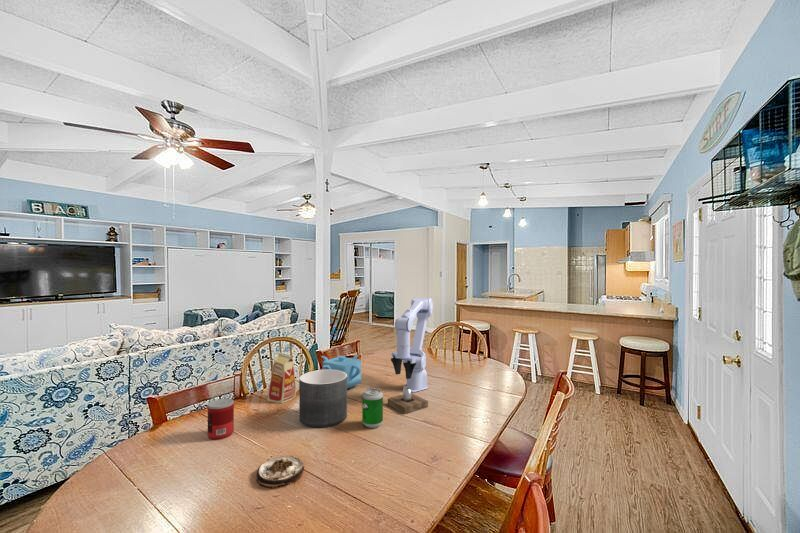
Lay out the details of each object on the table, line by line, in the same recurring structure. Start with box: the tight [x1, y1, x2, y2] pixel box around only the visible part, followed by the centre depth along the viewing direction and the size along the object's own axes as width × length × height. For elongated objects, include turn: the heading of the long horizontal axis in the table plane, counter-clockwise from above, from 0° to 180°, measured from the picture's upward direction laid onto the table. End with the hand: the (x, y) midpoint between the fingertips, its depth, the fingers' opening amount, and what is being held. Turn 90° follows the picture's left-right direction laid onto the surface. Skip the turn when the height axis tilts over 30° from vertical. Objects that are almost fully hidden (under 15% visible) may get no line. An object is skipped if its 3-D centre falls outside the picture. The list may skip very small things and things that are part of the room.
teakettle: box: [320, 354, 362, 390], centre depth 168 cm, size 19×19×15 cm
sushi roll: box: [256, 455, 305, 489], centre depth 97 cm, size 15×15×4 cm
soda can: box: [361, 388, 384, 429], centre depth 128 cm, size 8×8×12 cm
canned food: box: [207, 398, 235, 441], centre depth 120 cm, size 8×8×11 cm
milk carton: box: [266, 351, 297, 404], centre depth 153 cm, size 9×9×20 cm
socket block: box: [387, 392, 429, 415], centre depth 146 cm, size 12×12×2 cm
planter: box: [298, 369, 348, 429], centre depth 134 cm, size 18×18×16 cm
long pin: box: [402, 387, 412, 403], centre depth 146 cm, size 3×3×7 cm
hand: (403, 376), depth 153 cm, fingers open, 7 cm apart
